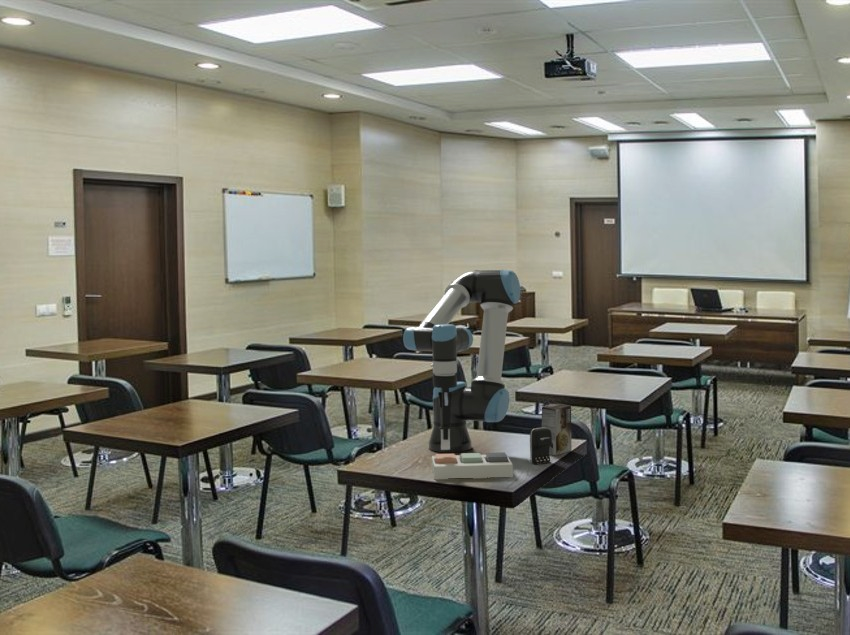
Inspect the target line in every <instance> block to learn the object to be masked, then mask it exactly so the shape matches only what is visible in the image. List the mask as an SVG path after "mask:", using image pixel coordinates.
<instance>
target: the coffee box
mask: <svg viewBox="0 0 850 635" xmlns="http://www.w3.org/2000/svg"><path fill="white" fill-rule="evenodd" d="M543 427H544V428H547V429H550V430H551V433H552V444H550V446H549V455H551V456H559V455H562V454H566V453H569V452H571V451H572V450H573V449H572V405H569V404H564V403H558V402H557V403H553V404H549V405H548V404H547V405H544V406H541V428H543Z"/></svg>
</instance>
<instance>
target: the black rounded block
mask: <svg viewBox="0 0 850 635" xmlns="http://www.w3.org/2000/svg"><path fill="white" fill-rule="evenodd" d="M550 444H552V433H551V430H550V429H547V428H544V427H543V428H542V427H536V428H533V429H532V430H530V432H529V449H530V450H529V452H530V453H529V454H530V459H529V460H530V461H529V462H530V463H531V464H533V465H542V464H548V463H550V462H551V457H550V454H549V446H550Z"/></svg>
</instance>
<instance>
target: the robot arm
mask: <svg viewBox="0 0 850 635" xmlns="http://www.w3.org/2000/svg"><path fill="white" fill-rule="evenodd" d="M520 298H521V284H520V280H519V278H518V275H517V274H516V272H514V271H513V270H507V269H505V270H504V269H495V270H494V269H491V270H490V269H489V270H488V269H485V270H483V269H482V270H479V269H475V270H474V269H473V270H470V271H467V272H465V273H463V274H461V275H459V276H457V277H456V278H455V279H454V280H453V281H451V282H450V283H449V284H448V285H447V287H446V288H445V290H444V294H443V296H442V297H441V298H440V299H439V301H438V302H437V303H436V304H435V305H434V307H433V308H432V309H431V310H430V312H429V313H428V314H426V316H425V317H424V318H423V319H422V320H421V322H420V323H419V325H417V327H415V326H412V327H407V328H406V329H404V332H403V335H402V336H403V337H402V339H403V340H402V341H403V346H404V347H405V348H406V349H407V350H409V351H410V350H411V351H416V352H418V351H422V352H423V351H425V352H426V351H427V352H432V363H431V364H430V367H432V373H433V375H432V386H433V387H434V388H433V392H432V393H433V394H432V407H433V408H432V412H433V413H432V415H433V417H432V418H433V427H432V431H431V434H430V437H429V441H428V449H429V450H430V451H433V452H437V453H438V452H440V453H460V452H466V451H469V450H471V449H472V446H473V445H472V439H471V437H470V434H469V431H468V427H467V421H472V422H473V421H475V422H486V423H499V422H501V421H503V419H504V418H505V417H506V415H507V413H508V411H509V406H510V392H509V390H508V389H506V388H505V387H506V384H505V383H504V381H503V380H502V373H503V364H504V356H505V346H506V336H507V335H506V334H507V329H508V328H507V327H508V326H507V325H508V319H509V318H508V317H509V313H510V312H512V311H513V309H514V304H517V303H519V302H520ZM471 303H480V307H481V309H482V310H483V318H482V323H481V324H482V325H481V326H482V327H481V335H480V341H479V353H478V362H477V369H476V376H475V378H472V380H471V382H470V383H471V385H470V386H467V382H465V381H458V376H457V372H458V361H457V357H458V356H457V355H458V353H462V352H466V351H467V350H468V349H470V348H471V347H472V345H473V342H474V337H473V336H474V335H473V334H472V331H470V330H469V329H468V328H466V327H457V326H456V325H455V324H453V323H452V324H451V323H450V322H451V321H452V320H453V319H454V318H455V317H456V315H457V314H458V312H459V311H460V310H461V309H462V308H465V307H467V306H468V304H471Z"/></svg>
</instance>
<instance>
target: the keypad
mask: <svg viewBox="0 0 850 635" xmlns="http://www.w3.org/2000/svg"><path fill="white" fill-rule="evenodd" d="M480 455H481V457H482V463H461V454H459V455H458V454H457V455H456V454H455V456H456V463H445V464H436V455H432V456H431V470H432V475H433V478H434V479H435V480H449V479H448V478H473V479H490V478H489V477H511V478H514V471H513V470H514V468H513V467H514V466H513V465H514V464H513V462H512V461H511V460H510V458H509V456H508V454H507V453H506V455H507V457H508V462H486V454H480ZM487 477H488V478H487Z"/></svg>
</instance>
